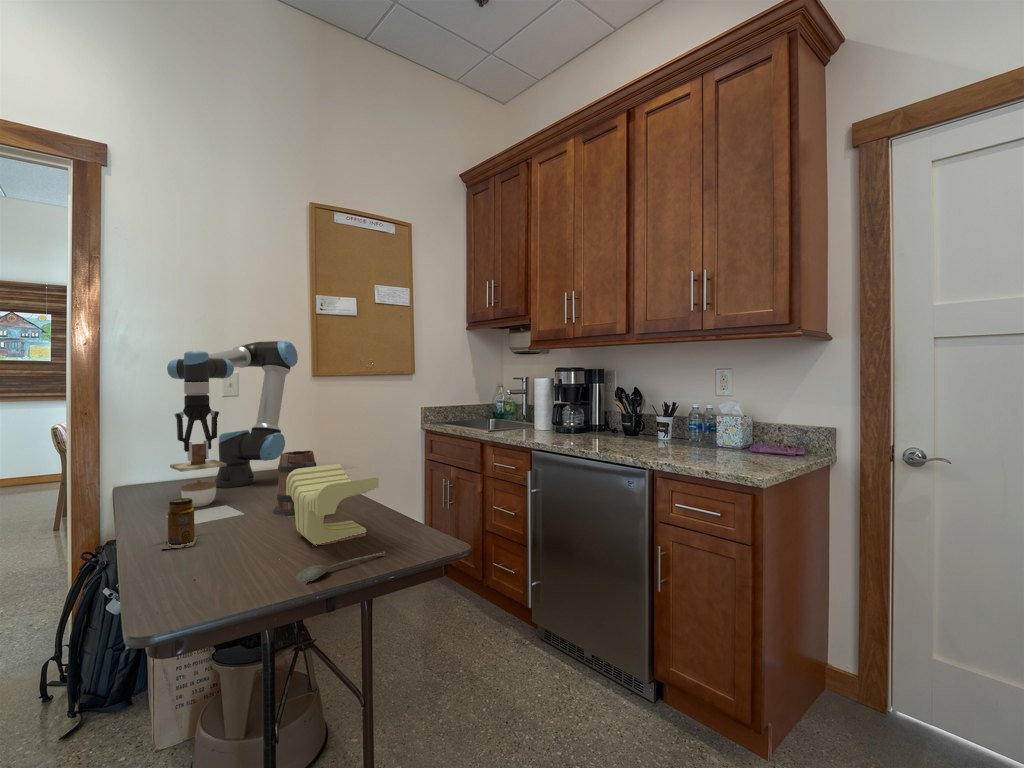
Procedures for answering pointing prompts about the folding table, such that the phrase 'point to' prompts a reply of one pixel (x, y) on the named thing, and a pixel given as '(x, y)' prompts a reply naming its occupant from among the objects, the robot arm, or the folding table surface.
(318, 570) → the soupspoon
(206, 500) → the lidded jar
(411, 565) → the folding table surface
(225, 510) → the mat
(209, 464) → the lid
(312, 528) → the slatted curved stool
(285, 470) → the tankard
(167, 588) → the folding table surface
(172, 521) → the condiment
